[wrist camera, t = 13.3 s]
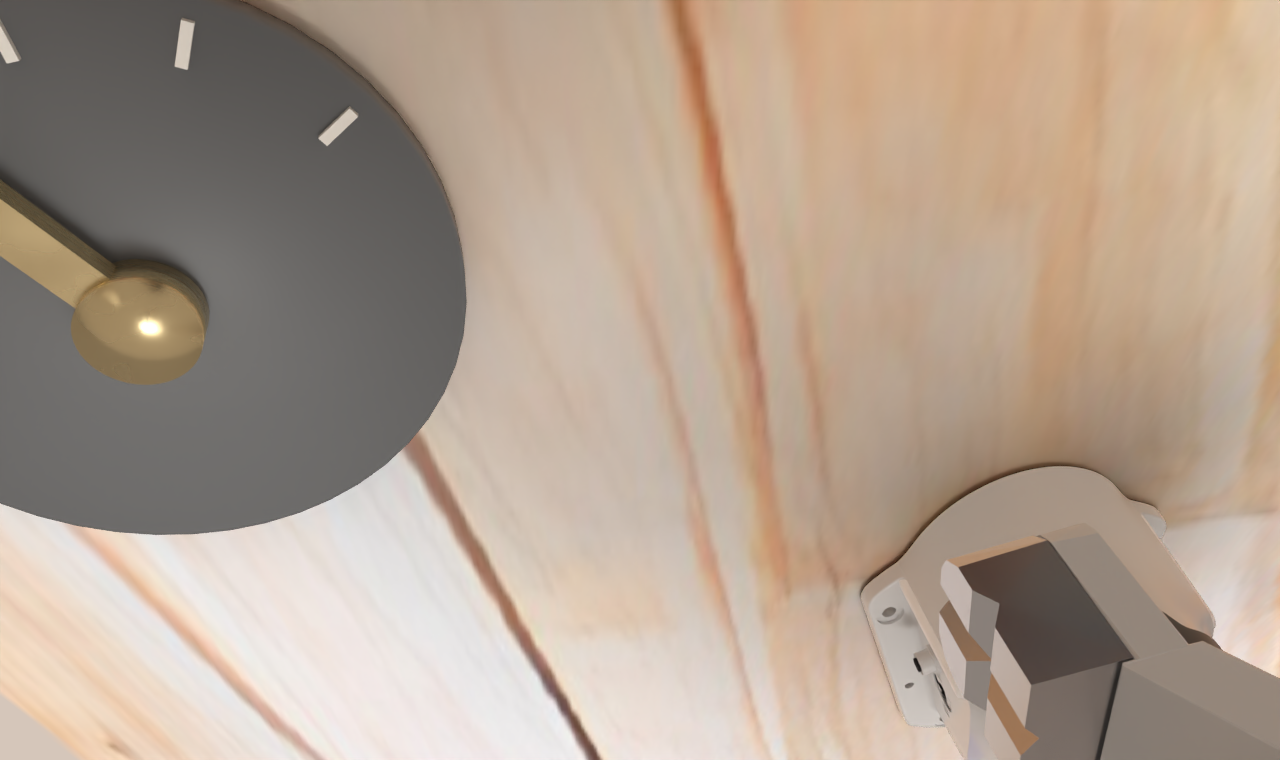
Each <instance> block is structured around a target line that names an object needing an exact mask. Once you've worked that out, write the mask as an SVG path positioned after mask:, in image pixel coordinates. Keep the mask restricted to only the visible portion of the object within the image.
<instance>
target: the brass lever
mask: <svg viewBox="0 0 1280 760" xmlns="http://www.w3.org/2000/svg"><path fill="white" fill-rule="evenodd" d="M0 256H1V257H2V258H4V259H5V260H7V261H8V262H9V263H11V264H12V265H14V266H15V267H17V268H18V269H19V270H21V271H22V272H24V273H25V274H27V275H28V276H29V277H31V278H32V279H34V280H35V281H37V282H38V283H39V284H41V285H42V286H44V287H45V288H47V289H48V290H49V291H51V292H52V293H54V294H55V295H57V296H58V297H59V298H61V299H62V300H64V301H65V302H67V303H68V304H69V305H71V306H72V307H74V308H75V311H74V314H73V317H72V320H71V335H72V339H73V342H74V344H75V347H76V349H77V350H78V352H79V353H80V355H81V356H82V357H83V358H84V360H85V361H86V362H88V363H89V364H90V365H91V366H92V367H93V368H95V369H96V370H97V371H99V372H101V373H103V374H104V375H106V376H108V377H111V378H113V379H116V380H119V381H122V382H126V383H131V384H139V385H153V384H160V383H165V382H169V381H171V380H174V379H176V378H178V377H180V376H182V375H184V374H185V373H186V372H188V371H189V370H190V369H191V368H192V367H193V366H194V365H195V363H196V362H197V361H198V359H199V357H200V354H201V352H202V348H203V344H204V340H205V336H206V332H207V328H208V323H209V307H208V303H207V300H206V298H205V296H204V294H203V292H202V291H201V289H200V288H199V287H198V286H197V284H196V283H195V282H194V281H193V280H192V279H190V278H189V277H188V276H187V275H185V274H184V273H183V272H181V271H179V270H178V269H176V268H174V267H172V266H169V265H167V264H164V263H161V262H157V261H152V260H145V259H129V260H122V261H118V262H115V263H111V262H110V261H109V260H107V259H106V258H105V257H103V256H102V255H101V254H99V253H98V252H97V251H95V250H94V249H93V248H91V247H90V246H89V245H87V244H86V243H85V242H83V241H82V240H81V239H79V238H78V237H77V236H75V235H74V234H73V233H71V232H70V231H69V230H67V229H66V228H65V227H63V226H62V225H61V224H59V223H58V222H56V221H55V220H54V219H52V218H51V217H50V216H48V215H47V214H46V213H44V212H43V211H42V210H40V209H39V208H38V207H36V206H35V205H34V204H32V203H31V202H30V201H28V200H27V199H26V198H24V197H23V196H22V195H20V194H19V193H18V192H16V191H15V190H14V189H12V188H11V187H10V186H8V185H7V184H6V183H4V182H3V181H2V180H0Z"/></svg>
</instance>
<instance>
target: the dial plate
mask: <svg viewBox="0 0 1280 760" xmlns="http://www.w3.org/2000/svg"><path fill="white" fill-rule="evenodd" d="M0 180H2V181H3V182H4V183H6V184H7V185H8V186H10V187H11V188H12V189H14V190H15V191H16V192H18V193H19V194H20V195H22V196H23V197H24V198H26V199H27V200H28V201H30V202H31V203H32V204H34V205H35V206H36V207H38V208H39V209H40V210H42V211H43V212H44V213H46V214H47V215H48V216H50V217H51V218H52V219H54V220H55V221H56V222H58V223H59V224H61V225H62V226H63V227H65V228H66V229H67V230H69V231H70V232H71V233H73V234H74V235H75V236H77V237H78V238H79V239H81V240H82V241H83V242H85V243H86V244H87V245H89V246H90V247H91V248H93V249H94V250H95V251H97V252H98V253H99V254H101V255H102V256H103V257H105V258H106V259H107V260H109V261H110V262H111V263H115V262H118V261H122V260H129V259H145V260H152V261H157V262H161V263H164V264H167V265H169V266H172V267H174V268H176V269H178V270H179V271H181V272H183V273H184V274H185V275H187V276H188V277H189V278H190V279H192V280H193V281H194V282H195V283H196V284H197V286H198V287H199V288H200V289H201V291H202V292H203V294H204V296H205V298H206V300H207V303H208V307H209V323H208V328H207V332H206V336H205V340H204V344H203V348H202V352H201V354H200V357H199V359H198V361H197V362H196V363H195V365H194V366H193V367H192V368H191V369H190V370H189V371H188V372H186V373H185V374H184V375H182V376H180V377H178V378H176V379H174V380H171V381H169V382H165V383H160V384H153V385H139V384H131V383H126V382H122V381H119V380H116V379H113V378H111V377H108V376H106V375H104V374H103V373H101V372H99V371H97V370H96V369H95V368H93V367H92V366H91V365H90V364H89V363H88V362H86V361H85V360H84V358H83V357H82V356H81V355H80V353H79V352H78V350H77V349H76V347H75V344H74V342H73V339H72V335H71V320H72V317H73V314H74V311H75V308H74V307H72V306H71V305H69V304H68V303H67V302H65V301H64V300H62V299H61V298H59V297H58V296H57V295H55V294H54V293H52V292H51V291H49V290H48V289H47V288H45V287H44V286H42V285H41V284H39V283H38V282H37V281H35V280H34V279H32V278H31V277H29V276H28V275H27V274H25V273H24V272H22V271H21V270H19V269H18V268H17V267H15V266H14V265H12V264H11V263H9V262H8V261H7V260H5V259H4V258H2V257H1V256H0V503H1V504H4V505H7V506H9V507H12V508H15V509H18V510H21V511H24V512H27V513H30V514H33V515H36V516H39V517H43V518H48V519H52V520H56V521H60V522H64V523H68V524H72V525H76V526H82V527H88V528H94V529H101V530H107V531H113V532H124V533H138V534H152V535H169V534H199V533H209V532H218V531H227V530H234V529H239V528H244V527H249V526H254V525H258V524H263V523H268V522H271V521H274V520H277V519H281V518H284V517H287V516H290V515H294V514H297V513H300V512H302V511H305V510H307V509H309V508H312V507H314V506H317V505H319V504H321V503H324V502H326V501H328V500H331V499H332V498H334V497H336V496H338V495H340V494H341V493H343V492H345V491H347V490H349V489H350V488H352V487H354V486H356V485H358V484H359V483H361V482H362V481H363V480H365V479H366V478H368V477H369V476H370V475H372V474H373V473H375V472H376V471H377V470H379V469H380V468H381V467H383V466H384V465H386V464H387V463H388V462H389V461H390V460H391V459H392V458H393V457H394V456H395V455H396V454H397V453H398V452H400V451H401V450H402V449H403V448H404V447H405V446H406V445H407V444H408V443H409V442H410V441H411V439H412V438H413V437H414V436H415V435H416V433H417V432H418V431H419V430H420V428H421V427H422V426H423V425H424V424H425V422H426V421H427V420H428V418H429V417H430V415H431V414H432V412H433V410H434V409H435V407H436V405H437V404H438V402H439V400H440V399H441V397H442V395H443V394H444V392H445V389H446V387H447V385H448V382H449V380H450V377H451V375H452V373H453V370H454V368H455V366H456V362H457V358H458V354H459V350H460V346H461V342H462V338H463V334H464V324H465V312H466V287H465V272H464V262H463V255H462V248H461V244H460V239H459V235H458V230H457V226H456V221H455V217H454V214H453V211H452V208H451V206H450V203H449V200H448V198H447V195H446V192H445V190H444V187H443V184H442V182H441V180H440V178H439V176H438V174H437V173H436V171H435V169H434V167H433V165H432V163H431V162H430V160H429V158H428V156H427V154H426V152H425V150H424V149H423V147H422V146H421V144H420V143H419V141H418V140H417V139H416V137H415V136H414V135H413V133H412V132H411V130H410V129H409V128H408V126H407V125H406V124H405V122H404V121H403V120H402V118H401V117H400V115H399V114H398V113H397V112H396V111H395V110H394V109H393V108H392V107H391V106H390V104H389V103H388V102H387V101H386V100H385V99H384V98H383V97H382V96H381V95H380V94H379V93H378V92H377V91H376V90H375V89H374V87H373V86H372V85H371V84H370V83H369V82H368V81H367V80H365V79H364V78H363V77H362V76H361V75H359V74H358V73H357V72H356V71H355V70H353V69H352V68H351V67H350V66H349V65H347V64H346V63H345V62H344V61H343V60H341V59H340V58H339V57H338V56H337V55H335V54H334V53H333V52H331V51H330V50H328V49H327V48H325V47H324V46H322V45H321V44H319V43H318V42H316V41H315V40H313V39H311V38H310V37H308V36H307V35H305V34H304V33H302V32H301V31H299V30H298V29H296V28H295V27H293V26H291V25H289V24H287V23H285V22H283V21H281V20H279V19H277V18H275V17H273V16H271V15H269V14H267V13H265V12H263V11H261V10H259V9H257V8H255V7H253V6H251V5H249V4H247V3H245V2H242V1H239V0H0Z"/></svg>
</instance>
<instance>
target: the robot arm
mask: <svg viewBox="0 0 1280 760" xmlns="http://www.w3.org/2000/svg"><path fill="white" fill-rule="evenodd" d="M1165 529H1166V521H1165V520H1164V518H1163V517H1162V515H1161V514H1160V512H1159V511H1158V510H1157V509H1156V508H1155V507H1153V506H1151V505H1148V504H1145V503H1141V502H1138V501H1133V500H1129V499H1128V498H1126V497H1125V496H1124V495H1123V494H1122V493H1121V492H1120V491H1119V490H1118V488H1117V487H1116V486H1115V485H1114V484H1113V483H1112V482H1111V481H1110V480H1108V479H1107V478H1106V477H1104V476H1102V475H1100V474H1098V473H1096V472H1094V471H1091V470H1087V469H1083V468H1078V467H1069V466H1053V467H1043V468H1036V469H1031V470H1027V471H1022V472H1019V473H1015V474H1012V475H1009V476H1006V477H1003V478H1001V479H998V480H996V481H994V482H991V483H989V484H987V485H985V486H983V487H981V488H979V489H977V490H975V491H973V492H972V493H970V494H968V495H967V496H965V497H963V498H962V499H960V500H959V501H957V502H956V503H954V504H953V505H952V506H950V507H949V508H948V509H946V510H945V511H944V512H943V513H942V514H940V515H939V516H938V517H937V518H936V519H935V520H934V521H933V522H932V523H931V524H930V525H929V526H928V527H927V528H926V529H925V530H924V531H923V532H922V533H921V534H920V536H919V537H918V538H917V539H916V541H915V542H914V543H913V545H912V546H911V547H910V548H909V550H908V551H907V552H906V553H905V555H904V556H903V557H902V558H901V559H900V560H899V561H898V562H896V563H895V564H894V565H892V566H891V567H889V568H888V569H886V570H885V571H884V572H882V573H881V574H879V575H878V576H877V577H876V578H874V579H873V580H872V581H871V582H870V583H868V584H867V585H866V586H865V588H864V589H863V591H862V593H861V601H862V604H863V607H864V610H865V613H866V616H867V619H868V622H869V625H870V628H871V630H872V633H873V636H874V639H875V642H876V645H877V648H878V651H879V654H880V657H881V660H882V663H883V666H884V669H885V671H886V674H887V677H888V680H889V683H890V686H891V689H892V692H893V695H894V698H895V701H896V704H897V706H898V709H899V712H900V713H901V715H902V716H903V718H904V720H905V721H906V723H907V724H908V725H910V726H916V727H929V728H930V727H946V728H947V730H948V732H949V734H950V736H951V737H952V739H953V741H954V743H955V745H956V747H957V749H958V750H959V752H960V754H961V755H962V757H963V758H964V760H1280V678H1278V677H1276V676H1274V675H1271V674H1269V673H1267V672H1265V671H1263V670H1261V669H1259V668H1257V667H1255V666H1253V665H1251V664H1249V663H1247V662H1245V661H1243V660H1241V659H1239V658H1237V657H1235V656H1233V655H1231V654H1229V653H1227V652H1224V651H1223V650H1222V649H1221V648H1220V646H1219V645H1218V644H1217V643H1216V642H1215V640H1214V639H1212V636H1213V631H1214V628H1215V626H1216V622H1215V619H1214V616H1213V614H1212V612H1211V611H1210V609H1209V608H1208V606H1207V605H1206V603H1205V602H1204V600H1203V599H1202V598H1201V596H1200V595H1199V593H1198V592H1197V590H1196V589H1195V588H1194V586H1193V585H1192V583H1191V582H1190V580H1189V579H1188V578H1187V576H1186V575H1185V573H1184V572H1183V570H1182V569H1181V568H1180V566H1179V565H1178V563H1177V562H1176V561H1175V559H1174V558H1173V556H1172V555H1171V554H1170V552H1169V551H1168V549H1167V548H1166V547H1165V545H1164V544H1163V542H1162V541H1161V538H1162V536H1163V534H1164V532H1165Z"/></svg>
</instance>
